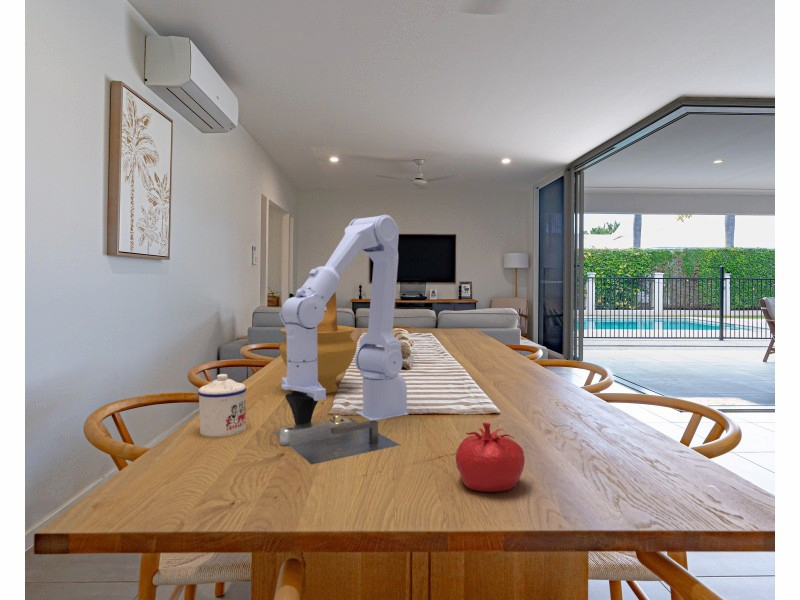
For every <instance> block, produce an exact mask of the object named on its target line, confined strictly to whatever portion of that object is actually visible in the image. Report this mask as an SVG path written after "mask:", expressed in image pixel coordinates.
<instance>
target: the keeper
mask: <svg viewBox="0 0 800 600" xmlns="http://www.w3.org/2000/svg"><path fill="white" fill-rule="evenodd" d="M366 428H369V442H371V443H377V442H378V433H379V421H378V420H376V419H374V420H368V421H362V422H359V423H355V424H350V425H344V426H339V427H333V428H331V433H332V434H334V435H335V434H340V433H345V432H350V431H356V430H361V429H366Z"/></svg>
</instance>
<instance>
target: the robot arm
mask: <svg viewBox="0 0 800 600" xmlns="http://www.w3.org/2000/svg"><path fill="white" fill-rule="evenodd" d="M399 233H400V228H399V226H398V224H397V222H396V221H395V220H394V219H393V217H392V216H390V215H388V214H383V215H382V214H381V215H377V216H369V217H361V218H360V217H356V218H354V219H352V220H351V221H350V222H349V224H348V225H347V227H345V229H344V235H343V237H342V239H341V240H340V241H339V243H338V245H337V246H336V248H335V249H334V250H333V252H332V254H331V256H330V257H329V259H328V261H327V262H326V263H325V265H323V266H317V267H316V268H312V269H310V271H309V277H308V278H307V279H306V281H305V282H304V284H303V285H302V286H301V287H300V288H298V289H297V290H296V292H295V296H292V297H289V298H287V300H285V301H284V303H283V305H282V307H281V311H279V312H278V313H279V319H280V320H281V322H282V323H283V324H284V328H285V332H286V334H287V367H286V376H285V377H284V376H283V377H281V386H280V387H281V389H282V390H283V391H292V392H291V393H287V394H285V399H286V402H287V404H288V405H289V407H290V410H291V412H292V415H293V419H294V423H295V424H294V425H299V424H305V423H311V422H312V418H313V414H314V411H315V409H316V407H317V404H318V402H319V401H324V400H327V395H326V394H327V393H326V389H325V388H323V387H322V386H321V385H320V383H319V382H318V359H317V325H318V324H319V323H320V322H322V320H323V317H324V314H325V308H327V307H326V303H327V302H328V301H329V299H330V298H331V296H332V295H333V294H334V292H336V291H337V290H338V288H339V287H340V285H341V279H340V275H341V274H342V273H343V272H344V271H345V270H346V268H347V267H348V266H349V265H350V263H351V262H352V261H353V260H354V259H355V258H356V256H357V255H358V254H359V253H360V251H361V252H362V253H364V254H365V255H366V256H367V257H368V258H370V259H371V261H372V262H373V265H372V266H373V267H372V278H371V279H372V280H371V292H370V304H369V305H370V306H369V314H368V327H367V332H366V334H364V335H363V336H362V337H361V338H360V339H359V345H358V349H357V350H356V353H355V356H354V362H355V366H356V368H357V369H358V371H360V376H361V377H362V410H359V411H355V413H356V414H358V415H360V416H362V417H363V418H366V419H367V420H369V421H372V420H375V421H379V420H384V419H389V418H394V417H401V416H405V415H406V416H407V415H409V412H408V401H407V400H408V395H407V393H408V389H407V383H406V380H405V378H404V376H402V375H401V374H399V373H400V372H401V371H402V368H403V365H404V364H403V363H404V362H403V361H404V359H403V354H402V343H401V341H400V340H399V339H398V338H397V337H396V336H395V335H394V333H393V330H394V318H395V317H394V316H395V305H396V294H397V293H396V292H397V291H396V290H397V280H398V269H399V268H398V266H399V249H398V248H399V235H400V234H399Z"/></svg>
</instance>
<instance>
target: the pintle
mask: <svg viewBox="0 0 800 600" xmlns="http://www.w3.org/2000/svg"><path fill="white" fill-rule="evenodd" d="M341 416H342V414H338V413H337V414H336V413H335V414H332V418H333V423H337V422H341Z"/></svg>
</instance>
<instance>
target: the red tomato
mask: <svg viewBox="0 0 800 600" xmlns="http://www.w3.org/2000/svg"><path fill="white" fill-rule="evenodd" d="M482 426H483V428H484V429H483V428H482V427H479V428H478V430H479V432H480V433H481V434H480V433H478V432H476V431H470V432H465V434H466V435H469V436H467V437H465V438H464V439H463V440H462V441H461V442H460V444H459V445H458V448H457V450H456V453H455V464H456V468H457V470H458V472H459V475H460V477H461V481H462V483H463V484H464V486H466V487H467V488H468V489H469V490H473V491H476V492H486V493H493V492H494V493H495V492H506V491H508V490H511V489H513V487H515V486H516V484H517V483H518V481H520V479H521V476H522V473H523V472H524V469H525V459H526V458H525V455H524V454H525V453H524V448H522V447H521V445H520V444H518V443H517V442H516V441H514V440H513V439H515V437H513V436H511V435H510V434H506V433H505V434H501V435H500V434H499V435H498V433H499V431H500V432H501V431H502V429H500V428H499V429H496V430H494V431H492V432H491V423H489V422H485V421H484V422H482ZM511 438H512V439H511Z"/></svg>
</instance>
